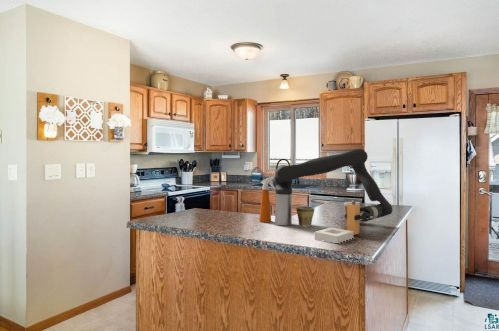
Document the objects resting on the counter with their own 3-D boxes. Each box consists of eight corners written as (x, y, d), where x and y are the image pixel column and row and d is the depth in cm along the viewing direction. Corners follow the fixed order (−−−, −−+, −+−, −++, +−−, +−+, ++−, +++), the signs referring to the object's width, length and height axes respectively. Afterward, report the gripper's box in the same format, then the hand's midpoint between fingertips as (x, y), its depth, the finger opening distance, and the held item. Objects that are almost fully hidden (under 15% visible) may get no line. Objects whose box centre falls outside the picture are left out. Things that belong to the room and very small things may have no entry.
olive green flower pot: (314, 228, 186) (314, 209, 186) (295, 227, 188) (295, 208, 188) (314, 223, 199) (314, 205, 199) (297, 222, 201) (297, 205, 201)
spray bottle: (272, 223, 197) (273, 177, 196) (256, 221, 203) (257, 176, 202) (278, 221, 203) (279, 176, 202) (263, 219, 209) (263, 176, 208)
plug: (354, 234, 166) (355, 201, 166) (346, 232, 169) (347, 200, 169) (359, 233, 169) (360, 200, 169) (351, 231, 172) (351, 199, 172)
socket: (337, 244, 153) (337, 236, 153) (314, 239, 162) (314, 231, 162) (353, 238, 163) (353, 231, 163) (331, 234, 172) (331, 227, 172)
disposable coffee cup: (353, 225, 194) (354, 204, 193) (340, 222, 201) (340, 202, 201) (364, 223, 199) (364, 202, 199) (350, 220, 207) (351, 200, 206)
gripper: (355, 204, 184) (337, 207, 172) (381, 207, 174) (364, 211, 162) (354, 218, 184) (337, 222, 172) (380, 222, 174) (363, 227, 162)
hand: (350, 217), depth 167 cm, fingers closed on plug, 4 cm apart
